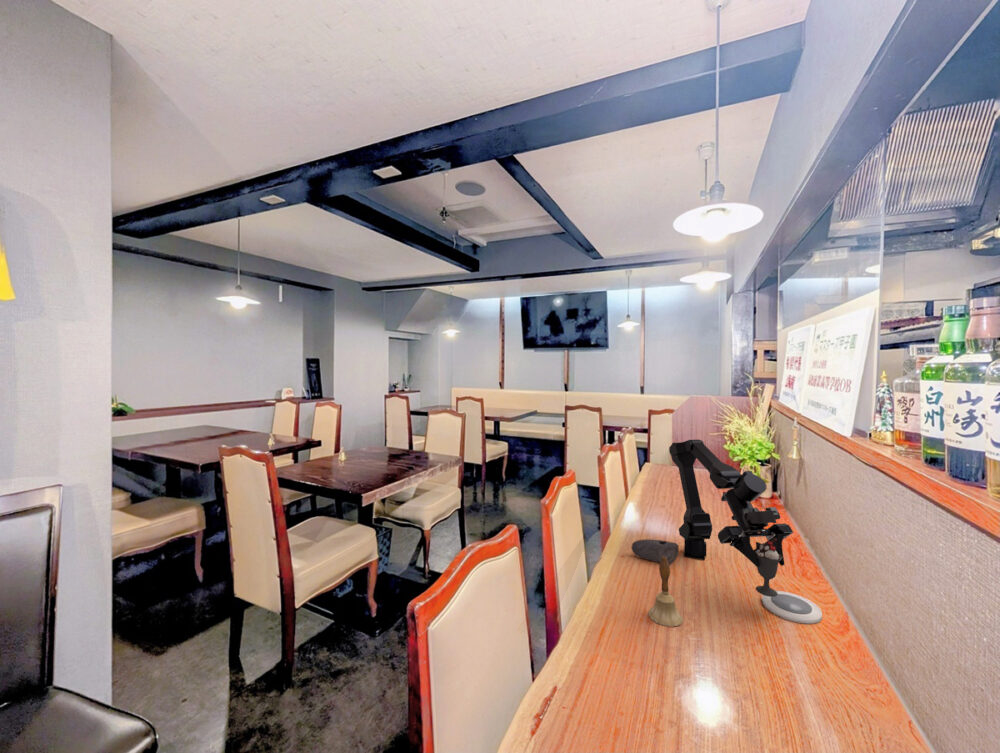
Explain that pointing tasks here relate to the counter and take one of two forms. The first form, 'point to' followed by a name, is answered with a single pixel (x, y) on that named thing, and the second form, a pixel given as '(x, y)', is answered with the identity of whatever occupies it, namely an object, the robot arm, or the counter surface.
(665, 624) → the hand bell
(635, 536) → the counter surface
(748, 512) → the robot arm
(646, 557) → the perforated stone tool
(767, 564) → the sundae
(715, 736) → the counter surface
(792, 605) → the serving plate
